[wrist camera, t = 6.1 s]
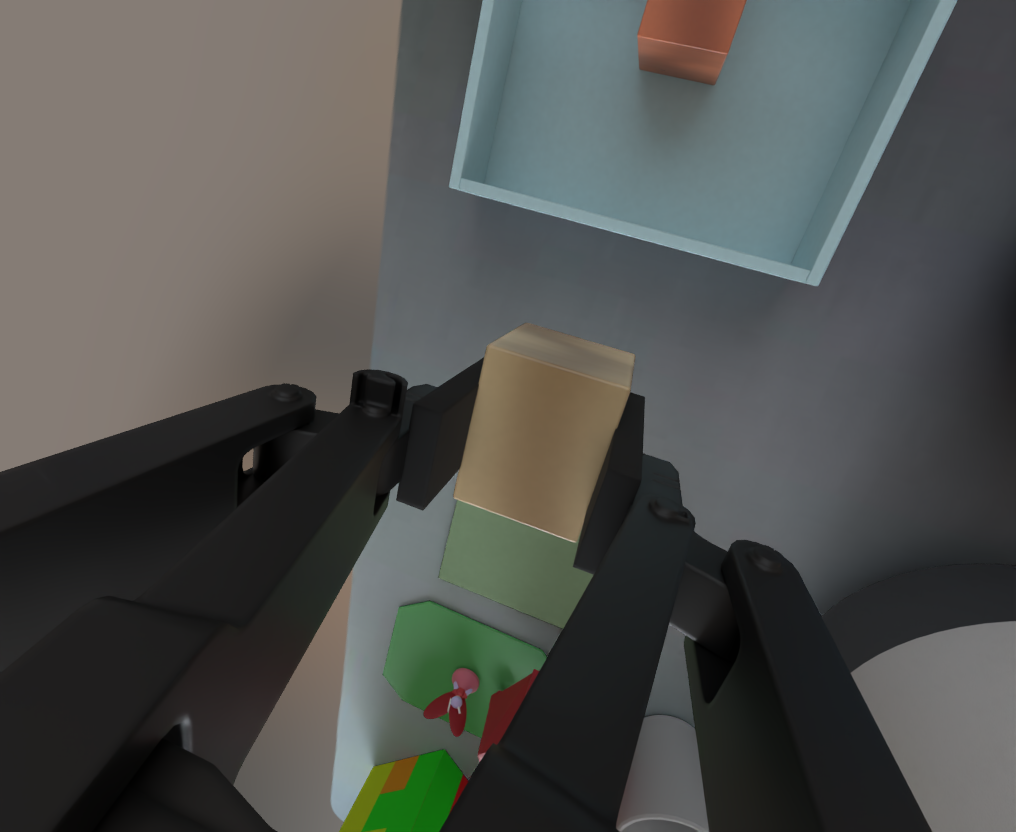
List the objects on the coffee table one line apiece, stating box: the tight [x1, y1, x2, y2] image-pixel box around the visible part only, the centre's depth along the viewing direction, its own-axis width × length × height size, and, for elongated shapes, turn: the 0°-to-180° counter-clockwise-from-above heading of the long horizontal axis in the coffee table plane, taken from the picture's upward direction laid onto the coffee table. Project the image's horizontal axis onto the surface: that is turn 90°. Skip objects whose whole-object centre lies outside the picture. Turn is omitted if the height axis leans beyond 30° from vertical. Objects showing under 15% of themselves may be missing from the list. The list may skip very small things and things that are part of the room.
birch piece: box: [453, 323, 635, 543], centre depth 16 cm, size 4×5×4 cm
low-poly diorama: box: [383, 601, 547, 762], centre depth 39 cm, size 15×20×9 cm
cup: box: [616, 715, 709, 832], centre depth 36 cm, size 8×10×8 cm
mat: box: [438, 500, 593, 629], centre depth 37 cm, size 12×12×1 cm
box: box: [449, 0, 957, 286], centre depth 24 cm, size 19×14×4 cm
